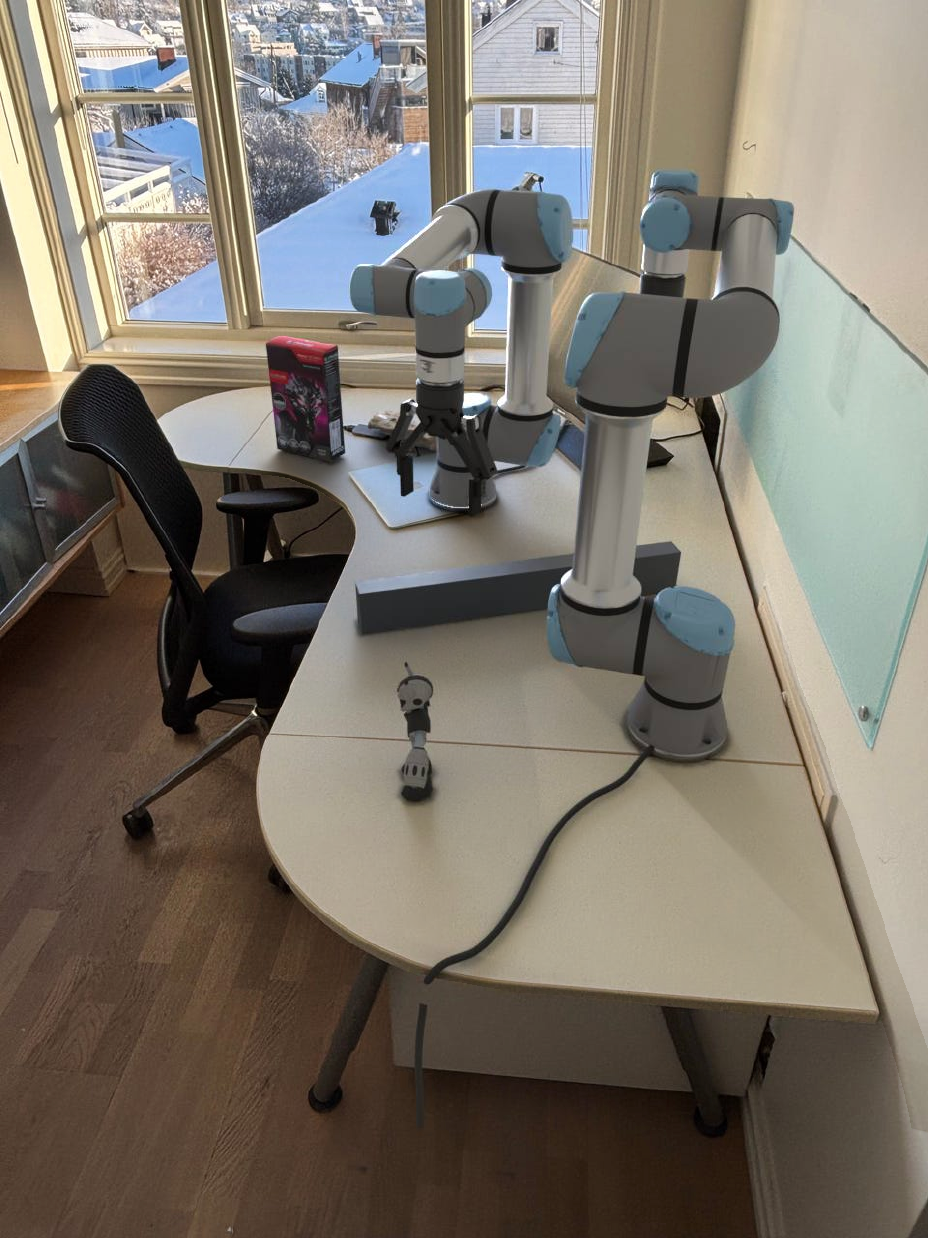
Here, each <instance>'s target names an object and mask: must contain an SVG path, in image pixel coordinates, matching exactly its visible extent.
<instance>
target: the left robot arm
mask: <svg viewBox="0 0 928 1238" xmlns="http://www.w3.org/2000/svg"><path fill="white" fill-rule="evenodd" d="M429 221H430V222H429V224H428V225H427V226H426V227H425V228H424V229H423V230H421V231H420V232H419V233H418V234H416V235H415V236H414V237H412V239H410V240H409V241H408V242H406V243H405V244H404V245H403V246H402V247H401V248H399V249H398V250H397V251H396V252H395V253H394V254H393V253H392V255H391V256H389V258H387V259H386V260H385V261H384V262H382V263H381V264H374V263H370V264H369V263H368V264H367V263H366V264H365V263H364V264H358V265H356V266H355V267H354V269H353V270H352V272H351V275H350V279H349V283H348V286H349V287H348V289H349V290H348V291H349V292H348V293H349V299H350V303H351V305H352V307H353V308H354V310H356V311H357V312H359V313H364V314H369V315H373V316H384V317H394V318H401V319H402V318H404V319H414V342H415V343H414V344H415V346H414V350H415V351H414V352H415V355H414V356H415V376H416V378H417V379H416V380H415V399H413V398H410V399H408V400H406V401H404V402H401V403H400V408H399V413H400V416H399V418H398V421H397V423H396V425H395V427H394V430H393V432H392V434H391V436H389V438H388V440H387V442H386V445H385V451H386V452H387V453H392V454H393V455H394V457H395V459H396V463H395V464H396V474H397V475H398V476H399V483H400V487H399V488H400V497H403V498H406V497H407V496H409V495H410V494H412V493H413V492H414V491H415V490H414V487H415V486H414V455H411V454H410V453H411V452H412V450H413V449H414V448H415V447H416V446H415V445H416V444H417V443H418V442H419V441H420V440H421V438H422V437H423V436H424V435H425V434H426V433H428V434H429V436H432V437H437V450H436V466H435V469H434V472H433V476H432V479H431V482H430V483H429V490H428V499H429V501H430V502H431V503H432V504H433V505H434V506H436V507H438V508H440V509H442V510H445V511H452V512H463V513H464V512H465V513H467V512H468V513H467V514H468V515H467V516H468V517H469V518H474V517H475V516H477V515H478V514H479V513H481V512H482V510H483V509H485V508H488V507H490V506H492V504H494V503H495V501H496V499H497V487H496V483H495V479H494V476H496V475H498V474H503V473H508V472H513V471H517V470H521V469H525V468H527V467H534V468H543V467H545V466H547V465H548V464H549V462H550V460H551V458H552V457H553V455H554V452H555V448H556V445H557V443H558V439H559V437H560V436H561V434H562V432H563V431H564V430H565V427H566V426H567V424H568V422H569V421H568V420H566V419H565V420H564V421H563V422H562V420H561V419H562V417H561V415H560V414H558V413H557V412H554V402H553V401H552V399H550V398H549V397H548V396H547V395H548V393H547V392H548V391H547V390H548V375H549V374H548V372H549V358H550V340H551V339H550V338H551V323H552V321H551V319H552V306H553V305H552V304H553V289H554V288H553V286H554V278H555V277H556V276H557V275H558V274H560V272H561V271H562V269H563V267H562V265H563V264H564V263H567V262H568V261H569V260H570V258H571V255H572V252H573V243H574V221H573V214H572V209H571V207H570V204H569V201H568V200H567V199H566V198H565V197H564V195H561V194H559V193H558V194H557V193H550V192H545V191H535V190H515V189H497V188H484V189H479V190H478V189H477V190H475V191H471V192H469V193H465V194H462V195H461V196H459V197H456V198H454V199H452V200H450V201H448V202H447V203H445V204H444V205H443V206H441V207H440V208H438V209H437V210H436V212H434V214H433V215H432V216H431V219H430V220H429ZM471 255H483V256H490V257H500V259H501V265H500V266H501V271H502V272H503V273H504V274H505V275H506V276H507V277H508V293H507V294H508V295H507V324H506V325H507V326H506V327H507V328H506V357H505V358H506V359H505V361H506V362H505V393H504V395H503V396H502V397H501V398H500V399H499V400H498V401H497V405H493V404H492V399H491V398H490V397H489V395H486V394H485V393H479V392H468V393H467V392H466V393H465V380H463V379H464V378H465V371H466V370H465V369H466V368H465V367H466V364H465V363H466V362H465V361H466V360H465V358H466V357H465V354H466V353H465V352H466V351H465V348H466V347H465V345H466V343H465V342H466V328H467V327H468V326H469V325H470V324H471V323H473V322H474V321H476V320H478V319H480V318H481V317H482V316H483V314H484V313H485V312H486V310H487V309H488V308H489V306H490V305H491V302H492V300H493V299H492V298H493V288H492V284H491V282H490V280H489V278H488V277H487V276H486V275H485V273H484V272H482V271H481V270H479V269H476V268H474V267H466V268H461V269H458V270H456V271H453V270H447V269H448V268H449V267H450V266H451V265H453V263H454V262H455V261H457V260H462V259H465V258H466V257H468V256H471ZM414 416H416V417H417V418H418V420H419V425H418V426H417V427H416V428H415V429H414V431H413V433H412V434H411V435H410V436H409V437H408V438H407V439H406V441H405V442H403V438H404V436H405V434H406V432H407V430H408V427H409V425H410V423H411V421H413V418H414ZM561 424H562V425H561ZM495 462H498V463H504V464H511V465H516V466H513V467H507V468H502V469H498V468H497V465H496V463H495ZM431 498H432V499H433V500H434V501H433V500H432V499H431ZM435 501H436V502H439V503H441V504H444V505H448V506H453V507H468V506H469V508H451V507H447V506H443V505H440V504H438V503H436V502H435ZM481 504H482V506H481Z"/></svg>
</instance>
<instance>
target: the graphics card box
mask: <svg viewBox="0 0 928 1238" xmlns="http://www.w3.org/2000/svg"><path fill="white" fill-rule="evenodd" d="M265 351H266V359H267V368H268V379H269V385H270V395H271V403H272V405H271V406H272V413H273V422H274V430H275V440H276V441H275V442H276V450H280V451H284V452H288V453H291V454H296V455H301V456H305V457H310V458H312V459H313V458H314V459H317V460H322V461H327V462H334V460H336V459H338V458H340V457H341V456H343V455H345V454H346V444H345V442H346V441H345V428H344V415H343V401H342V388H341V373H340V357H339V346H338V344H331V343H324V342H319V341H314V340H309V339H304V338H298V337H293V336H287V335H278V336H275V337H273V338H271V339H270V340H268V341H267V342H265Z"/></svg>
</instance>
